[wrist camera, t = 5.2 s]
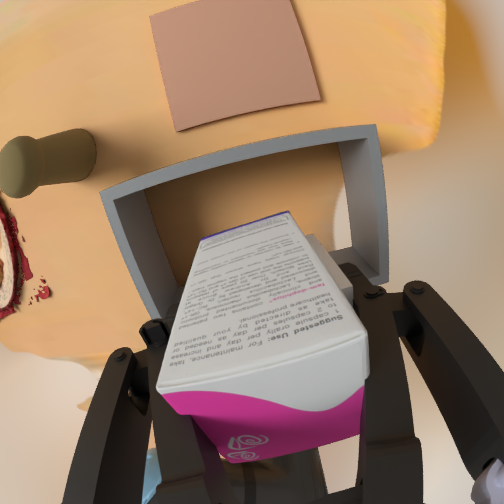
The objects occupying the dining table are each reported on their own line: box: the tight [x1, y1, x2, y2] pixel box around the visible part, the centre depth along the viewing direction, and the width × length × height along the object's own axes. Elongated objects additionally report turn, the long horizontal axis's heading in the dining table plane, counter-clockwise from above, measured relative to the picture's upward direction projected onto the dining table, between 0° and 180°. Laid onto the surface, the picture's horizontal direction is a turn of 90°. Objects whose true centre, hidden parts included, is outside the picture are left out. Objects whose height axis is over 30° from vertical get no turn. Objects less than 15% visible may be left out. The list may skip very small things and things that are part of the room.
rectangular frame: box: [99, 124, 389, 319], centre depth 24 cm, size 14×22×7 cm, turn 103°
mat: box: [149, 0, 321, 132], centre depth 20 cm, size 14×14×1 cm
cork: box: [0, 129, 96, 198], centre depth 18 cm, size 6×6×11 cm
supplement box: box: [156, 211, 370, 463], centre depth 12 cm, size 6×6×12 cm
